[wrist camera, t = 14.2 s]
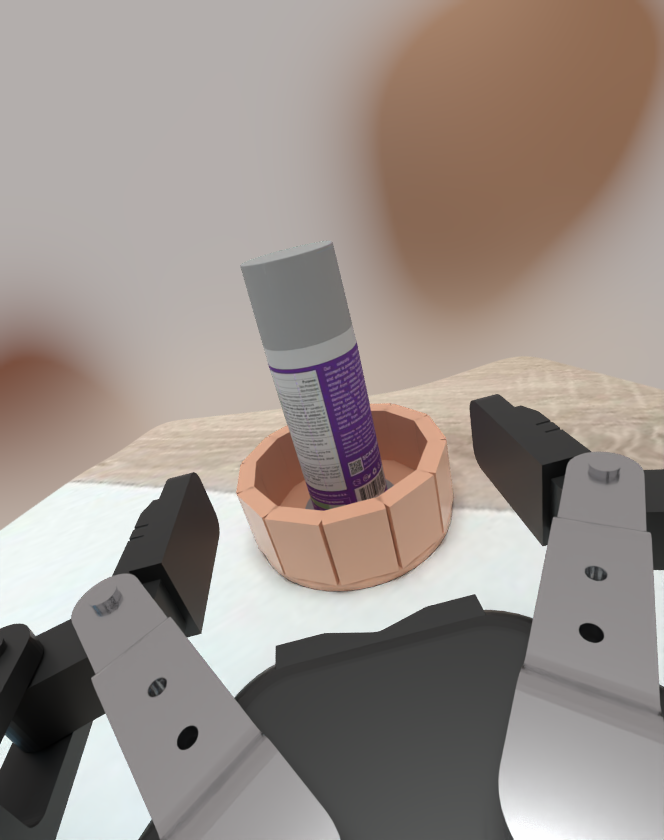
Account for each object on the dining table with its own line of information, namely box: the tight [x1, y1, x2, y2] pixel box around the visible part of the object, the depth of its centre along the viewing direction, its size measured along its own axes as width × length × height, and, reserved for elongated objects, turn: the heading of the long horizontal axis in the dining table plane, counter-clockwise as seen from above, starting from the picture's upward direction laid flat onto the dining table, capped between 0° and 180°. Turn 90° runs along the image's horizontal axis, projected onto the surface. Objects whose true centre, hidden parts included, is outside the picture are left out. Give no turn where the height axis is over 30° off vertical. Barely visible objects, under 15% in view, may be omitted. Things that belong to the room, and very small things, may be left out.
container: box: [241, 241, 387, 511], centre depth 23 cm, size 5×5×15 cm
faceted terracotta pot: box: [236, 403, 454, 591], centre depth 26 cm, size 12×12×5 cm
